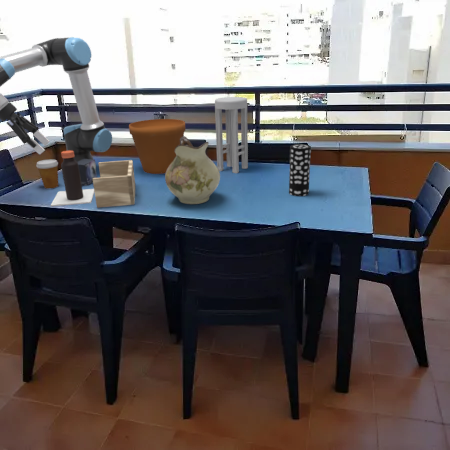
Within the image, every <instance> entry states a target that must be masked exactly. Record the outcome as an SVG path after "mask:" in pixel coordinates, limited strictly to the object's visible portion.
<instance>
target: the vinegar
mask: <svg viewBox="0 0 450 450" xmlns="http://www.w3.org/2000/svg"><path fill="white" fill-rule="evenodd" d="M60 153H61V158H62V160H63V161H62V162H61V165H60V167H61V172H62V173H61V174H62V177H63V183H64V188H65V190H64V191H66V196H67V199H68V200H78V199H81V198H83V190H84V189H83V186H82V184H81V178H80V172H79V166H78V162H76V161H75V160H74V151H67V150H63V151H60Z"/></svg>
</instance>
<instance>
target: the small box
mask: <svg viewBox="0 0 450 450" xmlns="http://www.w3.org/2000/svg"><path fill="white" fill-rule="evenodd" d="M95 164H96V159H94V158H93V159H82V160H80V161H78V166H79V172H80V178H81V184H82V187H87V186H90V185H91V184H93V178H98V175H97V173H98V172H97V164H96V165H95Z"/></svg>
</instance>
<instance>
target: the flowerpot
mask: <svg viewBox="0 0 450 450" xmlns="http://www.w3.org/2000/svg"><path fill="white" fill-rule="evenodd" d="M128 131H129V135H131V138H132V140H133V143H134V146H135V150H136V152H137V155H138V158H139V161H140V165H141V167H142V170H143V172H144V173H146V174H151V175H163V174H164V175H165V174H166V171H167V169H168V167H169V165H170V164H171V163H172V162H173V160H174V158H175V157H176V153H175V152H174V150H175V147H177V146H178V145H180V141H179V140H180V138H181V137H182V136H184V135H185V131H186V122H185V121H184V120H182V119H176V118H175V119H174V118H158V119H157V118H154V119H153V118H152V119H145V120H137V121H134V122H131V123H129V125H128Z"/></svg>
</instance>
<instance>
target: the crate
mask: <svg viewBox="0 0 450 450" xmlns="http://www.w3.org/2000/svg"><path fill="white" fill-rule="evenodd" d="M97 164H98V169H99V170H98V171H99V177H97V178H93V183H92V184H93V189H94V197H95V204H96V208H107V207H108V208H109V207H121V206H131V205H133V206H134V205H135V200H136V177H135V172H134V169H135V168H134V162H133V159H128V160H127V159H126V160H112V161H102V162H101V161H100V162H98V163H97Z"/></svg>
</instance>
